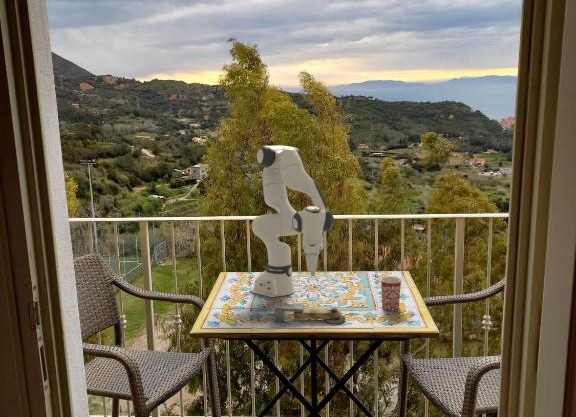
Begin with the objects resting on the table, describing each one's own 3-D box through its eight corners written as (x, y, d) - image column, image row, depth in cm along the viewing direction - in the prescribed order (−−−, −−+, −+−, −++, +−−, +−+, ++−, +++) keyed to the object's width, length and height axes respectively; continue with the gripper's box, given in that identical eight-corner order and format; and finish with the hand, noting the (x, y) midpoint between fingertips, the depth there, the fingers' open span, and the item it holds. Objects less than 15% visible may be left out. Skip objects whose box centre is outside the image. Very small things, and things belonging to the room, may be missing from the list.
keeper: (304, 316, 229) (304, 302, 228) (303, 322, 222) (302, 308, 221) (276, 315, 230) (276, 301, 229) (274, 322, 223) (274, 307, 222)
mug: (403, 311, 231) (404, 282, 229) (383, 312, 231) (383, 283, 228) (395, 301, 244) (396, 273, 242) (376, 302, 243) (376, 274, 241)
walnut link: (340, 315, 226) (340, 306, 225) (340, 319, 221) (340, 311, 220) (294, 314, 227) (294, 306, 227) (293, 319, 222) (293, 310, 222)
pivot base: (320, 322, 222) (320, 320, 222) (328, 315, 230) (328, 312, 230) (340, 325, 218) (340, 323, 218) (348, 318, 226) (348, 315, 226)
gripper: (307, 238, 237) (307, 267, 240) (303, 250, 218) (304, 282, 220) (321, 238, 237) (321, 267, 240) (319, 250, 217) (319, 283, 220)
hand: (313, 275), depth 230 cm, fingers closed
